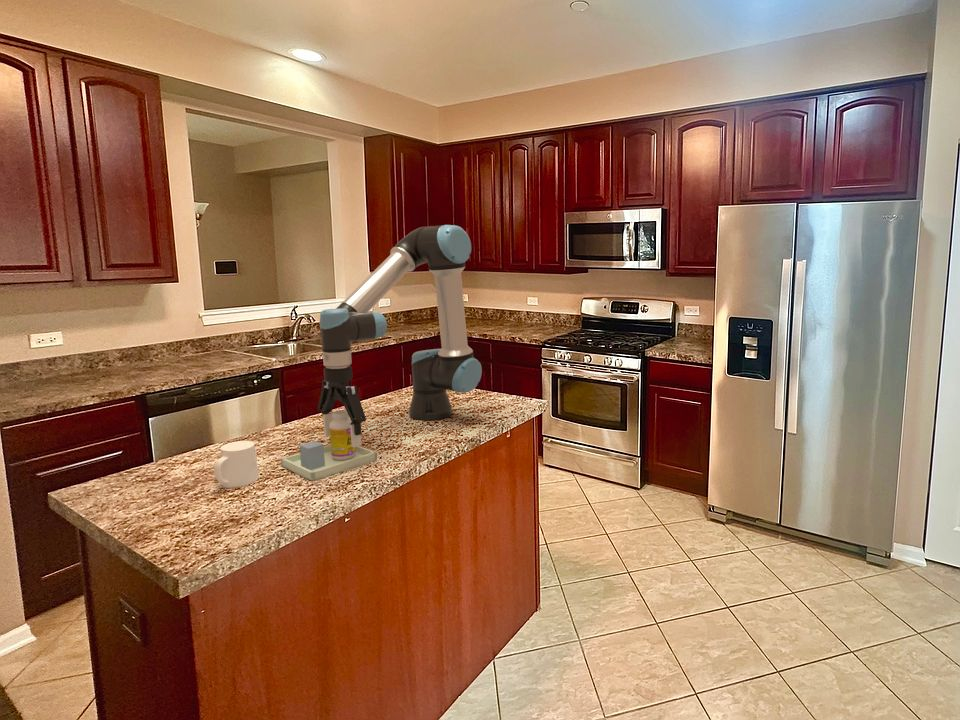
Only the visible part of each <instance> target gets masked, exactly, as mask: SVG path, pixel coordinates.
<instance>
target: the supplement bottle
mask: <svg viewBox="0 0 960 720" xmlns="http://www.w3.org/2000/svg"><path fill="white" fill-rule="evenodd" d="M331 413H332V417H333V421H332V422H331V423H330V425H329V429H330V436H329V440H330V444H331V455H332V458H333V459H336V460H346V459H350V458H352V457H354V456H355V454H356V450H355V447H354V448H353V447H352V444H351V428H350V424H351V422H352V421H351V419H350V417H349V415H348V413H347V411H346V409H340V410H335V411H334V410H333V412H331Z"/></svg>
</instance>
